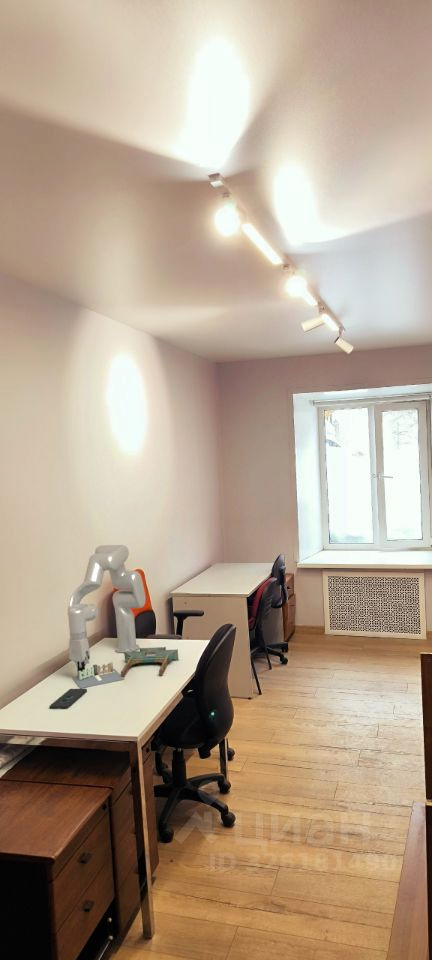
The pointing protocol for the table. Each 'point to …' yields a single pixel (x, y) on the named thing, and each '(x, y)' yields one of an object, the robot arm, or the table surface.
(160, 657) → the miniature gate
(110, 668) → the fixed fence section
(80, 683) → the card
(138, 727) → the table surface
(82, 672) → the folding fence panel
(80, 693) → the smart home device
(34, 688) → the table surface
